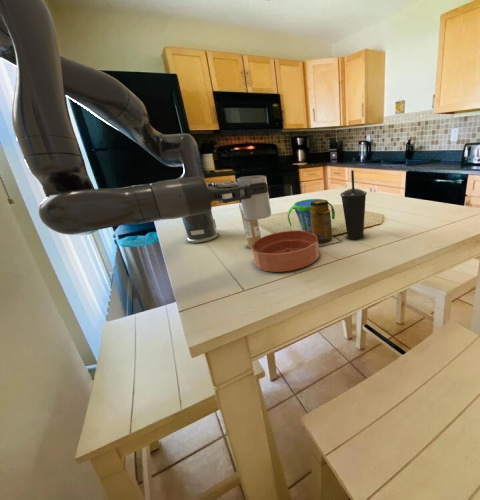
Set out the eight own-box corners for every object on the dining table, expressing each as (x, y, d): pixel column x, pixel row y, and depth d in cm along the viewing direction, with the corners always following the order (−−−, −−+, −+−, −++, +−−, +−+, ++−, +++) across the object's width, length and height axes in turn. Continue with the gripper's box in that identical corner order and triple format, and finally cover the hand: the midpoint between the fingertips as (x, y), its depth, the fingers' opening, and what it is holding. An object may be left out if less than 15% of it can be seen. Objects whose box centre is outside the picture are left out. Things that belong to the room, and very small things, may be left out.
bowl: (261, 249, 80) (258, 233, 78) (318, 244, 81) (317, 228, 79) (248, 276, 64) (244, 257, 62) (320, 269, 65) (318, 250, 63)
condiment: (328, 234, 88) (325, 197, 84) (340, 241, 81) (337, 202, 77) (307, 239, 86) (302, 201, 81) (317, 247, 78) (313, 206, 74)
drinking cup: (339, 240, 82) (334, 172, 74) (347, 232, 88) (344, 169, 81) (363, 242, 79) (361, 171, 72) (370, 233, 86) (369, 168, 78)
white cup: (247, 213, 67) (240, 176, 64) (272, 211, 68) (267, 174, 64) (241, 220, 61) (233, 180, 58) (269, 218, 62) (263, 178, 58)
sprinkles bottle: (264, 245, 83) (256, 202, 78) (250, 249, 80) (241, 205, 75) (259, 241, 86) (251, 199, 81) (245, 245, 84) (236, 202, 79)
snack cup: (290, 240, 86) (285, 208, 82) (289, 230, 95) (285, 201, 92) (338, 234, 88) (336, 203, 84) (333, 224, 97) (331, 196, 93)
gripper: (181, 182, 47) (270, 170, 56) (172, 176, 59) (248, 167, 67) (192, 223, 50) (275, 206, 59) (182, 210, 61) (253, 197, 70)
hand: (260, 185), depth 63 cm, fingers closed on white cup, 6 cm apart
